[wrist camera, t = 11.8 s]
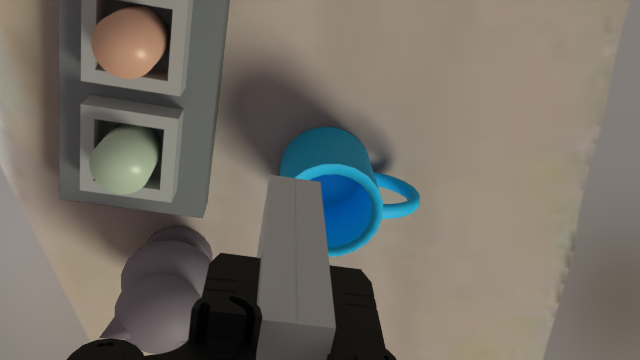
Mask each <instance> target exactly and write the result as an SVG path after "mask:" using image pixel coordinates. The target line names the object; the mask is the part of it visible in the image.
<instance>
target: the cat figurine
mask: <svg viewBox="0 0 640 360" xmlns="http://www.w3.org/2000/svg"><path fill="white" fill-rule="evenodd" d="M212 255H213V254H212V251H211V247H210V245H209V243H208V242H207V241H206V239H205V238H204V237H203V236H202V235H200V234H199V233H198V232H196V231H194V230H191V229H189V228H186V227H178V226H174V227H168V228H164V229H162V230H160V231H158V232H156V233H155V234H154V235H153V236H152V237H151V238H150V239H149V241H148V243H147V245H146V246H144V247H142V248H140V249H138V250H137V251H136V252H135V253H134V254H133V255H132V256H131V257H130V258H129V259H128V260H127V262H126V264H125V266H124V269H123V271H122V274H121V289H122V292H121V293H120V295H119V298H118V300H117V302H116V305H115V317H114V318H113V320H112V321H111V322H110V324H109V325H108V327H107V328H106V329H105V331H104V332H103V333H102V335H101V336H100V338H112V339H125V340H126V341H128V342H130V343H132V344H134V345H136V346H137V347H138V348H139V349H140V350H142V351H145V352H148V353H155V354H161V353H165V352H169V351H172V350H174V349H177V348H179V347H180V346H182V345H183V344H184V343H186V342H187V341H188V337H189V327H190V318H191V309H192V307H193V305H194V304H195V302H196V301H197V300H198V299H200V298H201V297H202V293H203V289H204V284H205V280H206V276H207V272H208V267H209V263H210V262H212Z"/></svg>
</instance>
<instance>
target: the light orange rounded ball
mask: <svg viewBox="0 0 640 360" xmlns="http://www.w3.org/2000/svg"><path fill="white" fill-rule="evenodd" d="M168 44H169V33H168V29H167V26H166V24H165V22H164V21H163V19H162V18H161V17H160V16H159V15H158V14H157V13H156V12H155V11H153V10H152V9H150V8H148V7H145V6H141V5H129V6H125V7H123V8H121V9H119V10H118V11H116V12H114V13H112V14H111V15H109V16H107V17H105V18H104V19H102V20H101V21H100V22H99V23H98V24H97V25H96V27H95V29H94V31H93V33H92V39H91V46H92V51H93V54H94V56H95V59H96V60H97V62H98V63H99V64H100V66H101V67H102V68H103V69H104V70H106V71H107V72H108V73H110V74H111V75H114V76H116V77H119V78H123V79H134V78H138V77H141V76H143V75H145V74H146V73H148V72H149V71H150V70H151V69H152V68H153V66H154V65H155V64H156V63H157V62H158V61H159V60H160V59H161V58H162V56H163V55H164V54H165V52H166V50H167V48H168Z"/></svg>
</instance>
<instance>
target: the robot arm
mask: <svg viewBox="0 0 640 360" xmlns="http://www.w3.org/2000/svg"><path fill="white" fill-rule="evenodd" d="M376 308H377V307H376V302H375V299H374V293H373V288H372V283H371V281H370V280H369V279H368V278H367V276H366V275H365V274H364V273H363V272H362V270H361V269H353V268H346V267H338V266H330V265H329V258H328V248H327V239H326V229H325V220H324V210H323V201H322V192H321V182H317V181H311V180H304V179H297V178H290V177H283V176H276V175H270V176H269V182H268V188H267V195H266V201H265V208H264V214H263V220H262V227H261V233H260V239H259V246H258V252H257V258H256V257H248V256H241V255H233V254H225V253H220V254H219V255H218V256H217V257H216V258H215V259H214V260H213V261H212V262H210V263H209V267H208V272H207V276H206V280H205V284H204V289H203V293H202V297H201V298H200V299H198V300H197V301H196V302H195V304H194V305H193V307H192V309H191V318H190V327H189V337H188V341H187V342H186V343H184V344H183V345H182V346H180V347H179V348H177V349H174V350H172V351H169V352H165V353H161V354H155V355H148V356H144V354H143V353H142V351H141V350H140V349H139V348H138V347H137V346H136V345H134V344H132V343H130V342H128V341H125V340H120V339H112V338H109V339H101V340H95V341H93V342H90V343H88V344H85V345H82V346H81V347H80V348H79V349H77V350H76V351H75V352H73V353H72V354H71V355H70V356H69V358H68V359H67V360H396V358H395V357H394V356H393V355H392V354H391V353H390V352H389V351H388V350H387V349H386V348H385V344H384V339H383V335H382V330H381V325H380V321H379V316H378V311H377V310H376Z"/></svg>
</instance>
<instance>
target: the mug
mask: <svg viewBox="0 0 640 360" xmlns="http://www.w3.org/2000/svg"><path fill="white" fill-rule="evenodd" d="M280 176H283V177H290V178H297V179H304V180H311V181H317V182H321V192H322V201H323V210H324V220H325V229H326V239H327V248H328V256H341V255H344V254H347V253H350V252H354V251H356V250H357V249H359V248H360V247H362V246H363V245H365V244H366V243H368V241H369V240H370V239H371V238H372V237H373V235H374V234H375V233H376V232H377V230H378V228H379V225H380V222H381V220H382V218H385V219H387V218H398V217H402V216H406V215H409V214H411V213H413V212H414V211H415V210H416V209H417V208H418V207H419V205H420V195H419V193H418V192H417V191H416V189H415V188H414V187H413V186H411V185H409V184H408V183H406V182H404V181H402V180H400V179H397V178H395V177H392V176H388V175H385V174H381V173H376V172H373V169H372V166H371V163H370V160H369V157H368V154H367V151H366V149H365V147H364V146H363V145H362V143H361V142H360V141H359V140H358V138H356V137H355V136H353V135H352V134H350V133H349V132H347V131H345V130H341V129H338V128H334V127H317V128H314V129H311V130H308V131H305V132H303V133H302V134H300V135H299V136H298V137H296V138H295V139H293V140H292V141H291V143H290V144H289V145H288V147H287V148H286V150H285V151H284V153H283V157H282V160H281V163H280ZM378 186H379V187H383V188H386V189H389V190H392V191H394V192H397V193H399V194H401V195H402V196H404V197H405V198H406V199H407V200H408V201H406V202H403V203H398V204H383V201H382V198H381V195H380V192H379V188H378Z"/></svg>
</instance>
